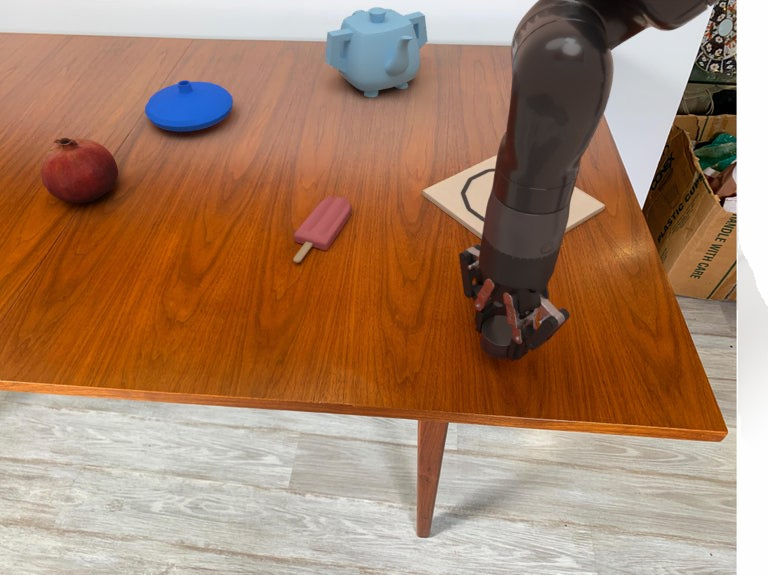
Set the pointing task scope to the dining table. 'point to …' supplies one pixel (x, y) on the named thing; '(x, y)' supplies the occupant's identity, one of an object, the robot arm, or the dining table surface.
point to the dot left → (496, 337)
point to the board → (471, 193)
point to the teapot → (377, 49)
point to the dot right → (500, 310)
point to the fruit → (78, 170)
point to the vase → (189, 106)
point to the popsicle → (322, 225)
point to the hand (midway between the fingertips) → (499, 341)
